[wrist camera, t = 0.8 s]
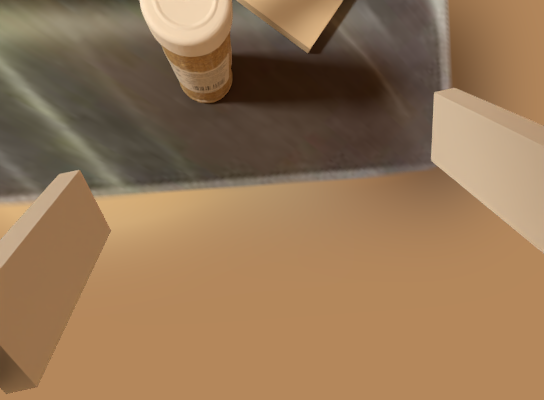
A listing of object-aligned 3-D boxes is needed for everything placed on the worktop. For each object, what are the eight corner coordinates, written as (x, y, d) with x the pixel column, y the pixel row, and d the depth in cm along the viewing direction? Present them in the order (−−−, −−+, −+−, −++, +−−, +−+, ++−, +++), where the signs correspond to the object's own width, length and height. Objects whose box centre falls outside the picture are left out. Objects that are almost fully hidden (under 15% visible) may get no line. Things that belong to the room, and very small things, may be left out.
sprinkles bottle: (232, 52, 31) (233, -47, 18) (231, 106, 31) (231, 46, 18) (178, 49, 31) (137, -56, 17) (177, 103, 31) (136, 40, 18)
